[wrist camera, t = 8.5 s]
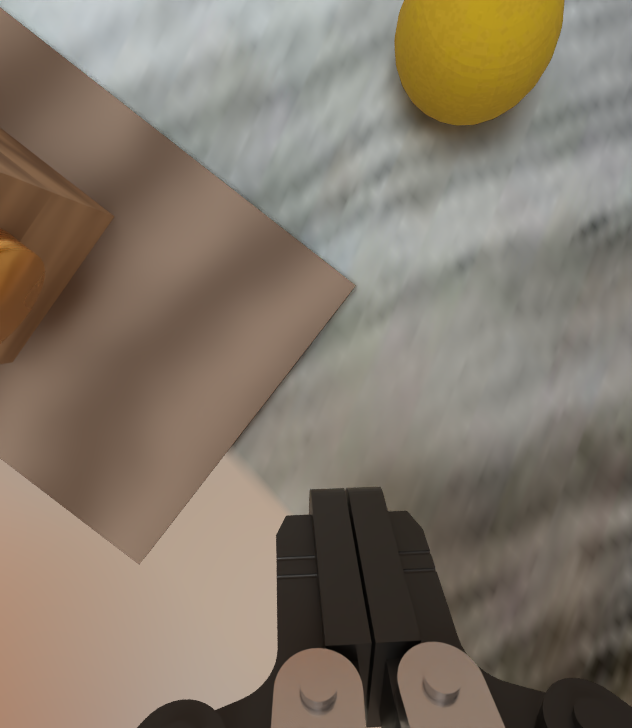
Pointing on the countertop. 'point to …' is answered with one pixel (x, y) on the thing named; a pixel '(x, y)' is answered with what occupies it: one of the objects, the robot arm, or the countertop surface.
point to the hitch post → (135, 302)
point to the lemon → (474, 54)
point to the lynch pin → (17, 282)
